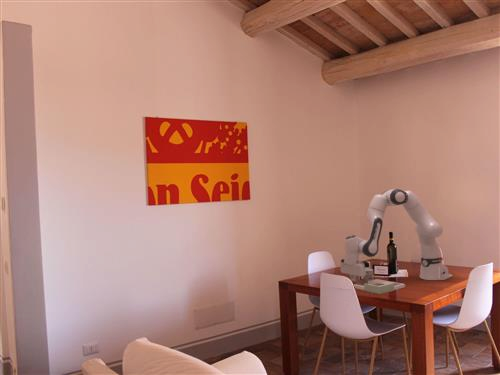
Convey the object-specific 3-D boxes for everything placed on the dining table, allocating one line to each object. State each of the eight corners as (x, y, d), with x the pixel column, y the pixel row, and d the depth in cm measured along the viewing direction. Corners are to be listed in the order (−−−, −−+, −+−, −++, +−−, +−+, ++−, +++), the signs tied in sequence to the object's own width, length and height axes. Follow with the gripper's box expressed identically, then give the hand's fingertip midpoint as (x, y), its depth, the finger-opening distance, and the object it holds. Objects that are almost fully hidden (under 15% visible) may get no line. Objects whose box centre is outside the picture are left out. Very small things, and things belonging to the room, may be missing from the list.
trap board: (377, 282, 310) (376, 275, 310) (406, 287, 290) (406, 280, 290) (351, 288, 297) (350, 281, 297) (380, 294, 277) (379, 286, 277)
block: (362, 283, 300) (362, 278, 300) (368, 284, 296) (367, 279, 296) (356, 284, 297) (356, 280, 297) (362, 285, 293) (362, 281, 293)
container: (363, 281, 313) (362, 262, 314) (358, 279, 321) (357, 261, 321) (374, 280, 315) (372, 261, 315) (369, 278, 323) (367, 260, 323)
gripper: (367, 261, 296) (368, 282, 296) (345, 258, 314) (346, 278, 313) (360, 262, 293) (361, 284, 293) (338, 259, 310) (339, 279, 310)
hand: (353, 281), depth 303 cm, fingers closed
